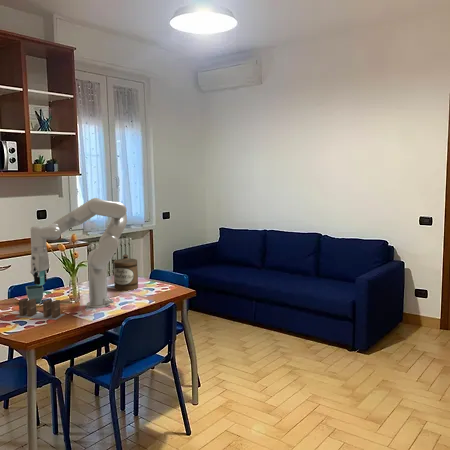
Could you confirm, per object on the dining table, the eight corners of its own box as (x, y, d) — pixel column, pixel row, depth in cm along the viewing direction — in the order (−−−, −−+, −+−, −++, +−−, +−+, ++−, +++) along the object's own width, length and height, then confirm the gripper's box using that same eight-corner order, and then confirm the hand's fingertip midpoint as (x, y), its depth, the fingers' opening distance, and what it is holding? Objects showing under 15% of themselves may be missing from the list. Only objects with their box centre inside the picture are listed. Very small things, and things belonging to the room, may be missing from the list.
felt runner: (65, 314, 243) (65, 314, 243) (56, 320, 234) (56, 319, 234) (24, 312, 246) (24, 311, 246) (14, 317, 238) (14, 317, 238)
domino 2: (36, 313, 243) (35, 298, 242) (31, 316, 238) (30, 301, 237) (33, 313, 244) (32, 298, 243) (27, 316, 239) (26, 301, 238)
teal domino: (44, 283, 250) (44, 269, 249) (39, 286, 245) (38, 271, 245) (41, 283, 251) (40, 269, 250) (35, 285, 246) (35, 271, 245)
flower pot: (27, 305, 260) (26, 289, 259) (26, 301, 267) (25, 286, 266) (44, 303, 264) (43, 287, 263) (42, 299, 271) (41, 284, 270)
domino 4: (60, 315, 241) (59, 300, 240) (55, 318, 236) (54, 302, 235) (56, 315, 241) (56, 300, 240) (51, 317, 236) (51, 302, 235)
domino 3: (52, 314, 242) (51, 299, 241) (47, 317, 237) (46, 302, 236) (48, 314, 242) (48, 299, 241) (43, 317, 237) (42, 302, 236)
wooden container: (110, 290, 293) (109, 256, 290) (120, 284, 307) (120, 252, 304) (132, 291, 289) (131, 257, 287) (141, 286, 304) (141, 253, 301)
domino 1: (28, 313, 244) (28, 298, 243) (23, 316, 239) (22, 301, 238) (25, 313, 244) (24, 298, 243) (19, 315, 239) (18, 300, 238)
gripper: (35, 252, 237) (37, 287, 239) (54, 247, 253) (55, 279, 255) (22, 251, 238) (24, 286, 240) (42, 246, 255) (43, 279, 257)
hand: (40, 282), depth 248 cm, fingers closed on teal domino, 4 cm apart
